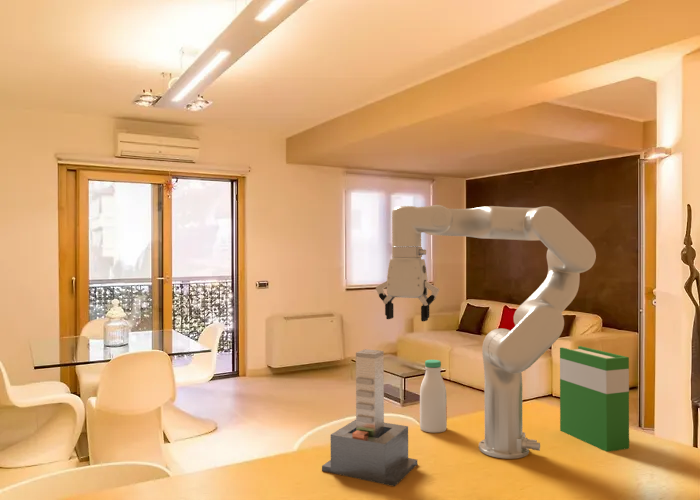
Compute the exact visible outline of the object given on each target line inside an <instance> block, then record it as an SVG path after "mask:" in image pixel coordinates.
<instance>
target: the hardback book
mask: <svg viewBox="0 0 700 500" xmlns="http://www.w3.org/2000/svg"><path fill="white" fill-rule="evenodd" d="M559 416H560V417H559V420H560V421H559V424H560V425H559V431H560V432H562V433H564V434H566V435H569V436H571V437H573V438H575V439H578V440H580V441H582V442H584V443H586V444H588V445H591V446H593V447H595V448H597V449H599V450H600V451H601V450H602V451H604V452H606V453H607V452H609V453H610V452H615V451H621V450H628V449H630V357H628V356H624V355H621V354H620V355H619V354H616V353H611V352H608V351H603V350H599V349H594V348H591V347H587V346H582V345H579V346H577V348H576V349H571V348H566V347H559Z"/></svg>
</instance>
